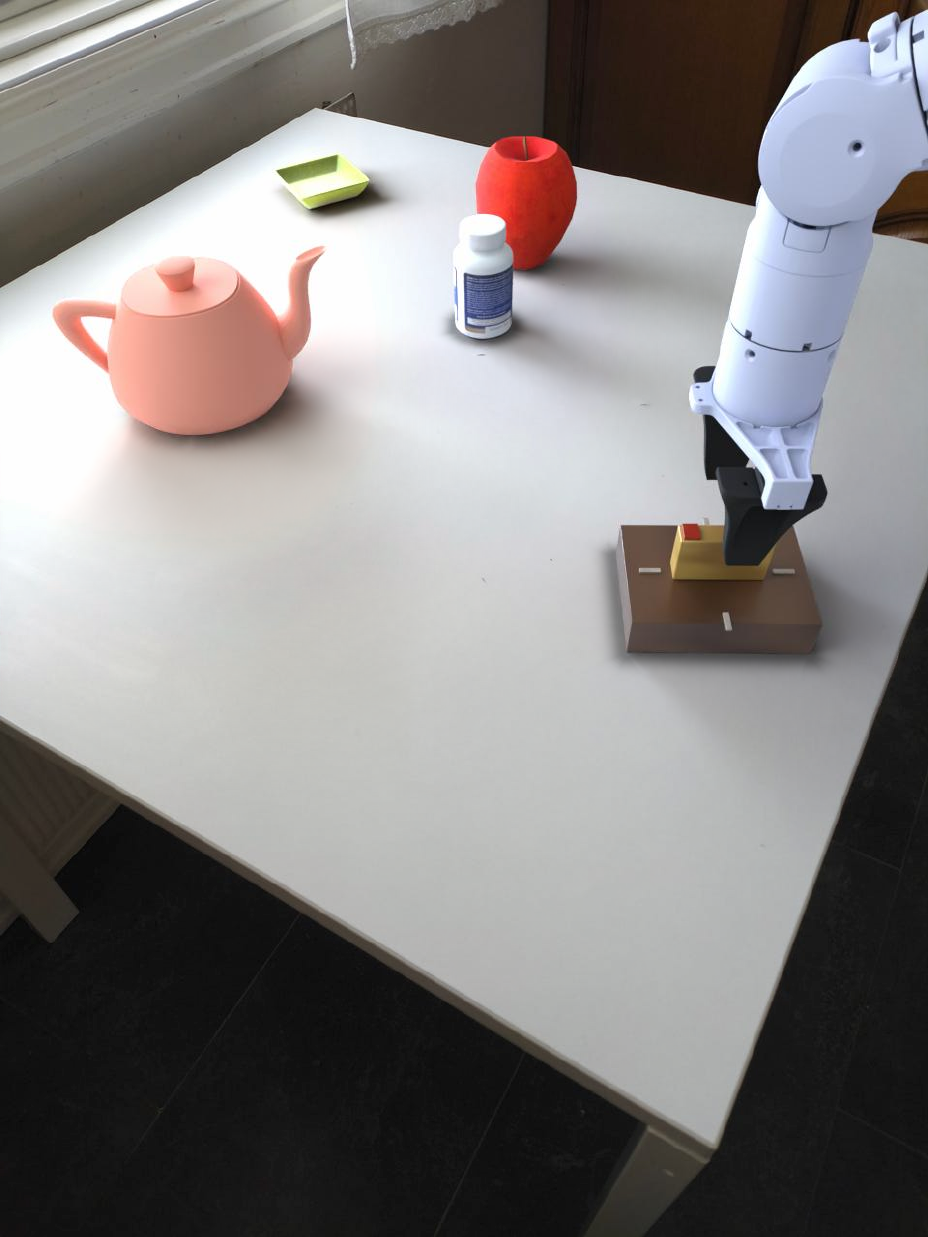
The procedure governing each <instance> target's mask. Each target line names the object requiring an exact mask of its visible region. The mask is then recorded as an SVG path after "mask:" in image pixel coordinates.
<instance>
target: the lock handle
mask: <svg viewBox="0 0 928 1237" xmlns="http://www.w3.org/2000/svg"><path fill="white" fill-rule="evenodd" d="M677 525H678V528H677V533H676V537H675V542H674V547H673V551H672V556H671V560H670V566H671V572H672V578H673V579H694V580H764V579H765V576H766V573H767V570H768V567H769V564H770V561H771V558H772V555H773V552H774V549H775V546H776V544H775V546H774V547H773V548H772V549H771V551H770V552H769V553H768V555H767V556H766V557H765V558H764V560H763V561H762V562H761V563H760V565H758V566H727V565H725V561H724V556H723V546H722V545H723V532H724V524H710V525H704V524H698V523H681V524H677Z"/></svg>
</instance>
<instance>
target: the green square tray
mask: <svg viewBox="0 0 928 1237" xmlns="http://www.w3.org/2000/svg"><path fill="white" fill-rule="evenodd" d="M272 173H273V174H274V176H275V177H276V178H277V179H278V180H279V181H280V182H281V184H282V185H283V186H285V187H286V188H287V190H289V192H290V193H291V194H292V195H293V196H294V197H295V198H296V199H297V200H298V201H299V202H300V203H301V204H302V205H303V206H304V207H305V208H307V209H309V210H312V209H316V208H318V207H322V206H326V205H330V204H334V203H337V202H341V201H345V200H348V199H353V198H356V197H358V196H359V195H360V194H361V193H362V192H364V190H365V189H366V188H367V187H368V184H369V183H370V181H371V179H370V177H369V176H367V175H366V174H365V173H364V172H363V171H361V170H360V169H359V167H357V166H356V165H355V164H353V163H352V162H351V161H350V160H348V158H347V157H346V156H344V154H342V153H333V154H330V155H326V156H322V157H321V156H320V157H318V158H314V159H309V160H306V161H305V160H304V161H301V162H298V163H294V164H288V165H285V166H281V167H277V168H274V169H273V171H272Z"/></svg>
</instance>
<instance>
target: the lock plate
mask: <svg viewBox="0 0 928 1237" xmlns="http://www.w3.org/2000/svg"><path fill="white" fill-rule="evenodd" d="M702 524H703V525H711V524H710V520H709V517H702ZM678 525H679V524H675V525H674V524H650V525H649V524H620V525H619V530H618V537H617V542H616V543H617V544H616V548H615V562H616V571H617V572H616V573H617V579H618V588H619V589H618V590H619V598H620V605H621V616H622V625H623V633H624V641H625V651H626V653H698V654H699V653H703V654H704V653H705V654H706V653H707V654H711V653H713V654H727V653H728V654H799V655H800V654H802V655H803V654H804V655H806V654H808V655H809V654H811V653H812V651H813V648H814V646H815V644H816V642H817V639H818V637H819V635H820V632H821V630H822V627H823V625H824V623H823V619H822V617H821V612H820V611H819V610H820V609H819V607H818V603H817V600H816V597H815V592H814V590H813V587H812V584H811V579H810V576H809V573H808V570H807V566H806V563H805V560H804V557H803V554H802V553H803V552H802V550H801V546H800V543H799V540H798V537H797V533H796V530H795V527H794V525H793V526H792V527H791V528H789V529H788V530H787V531H786V532H785V534H784V535H783V536H782V537H781V538H780V539H779V540H778V542H777V543H776V546H775V549H774V552H773V555H772V558H771V561H770V564H769V567H768V570H767V573H766V576H765V579H764V580H694V579H673V578H672V572H671V566H670V560H671V556H672V551H673V547H674V542H675V537H676V533H677V528H678Z"/></svg>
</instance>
